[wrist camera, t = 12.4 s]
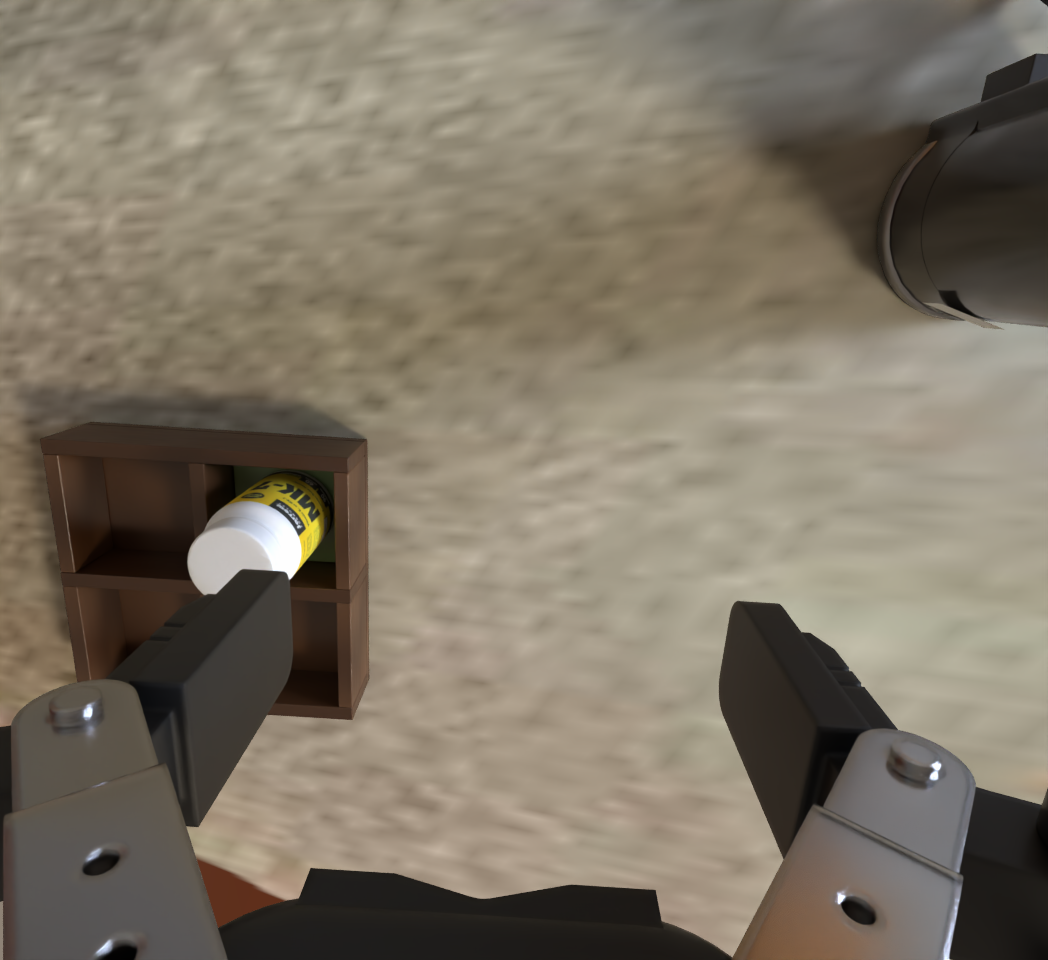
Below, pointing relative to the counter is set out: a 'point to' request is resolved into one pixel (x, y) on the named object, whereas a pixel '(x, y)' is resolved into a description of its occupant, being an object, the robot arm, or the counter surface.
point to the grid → (173, 525)
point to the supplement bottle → (262, 530)
